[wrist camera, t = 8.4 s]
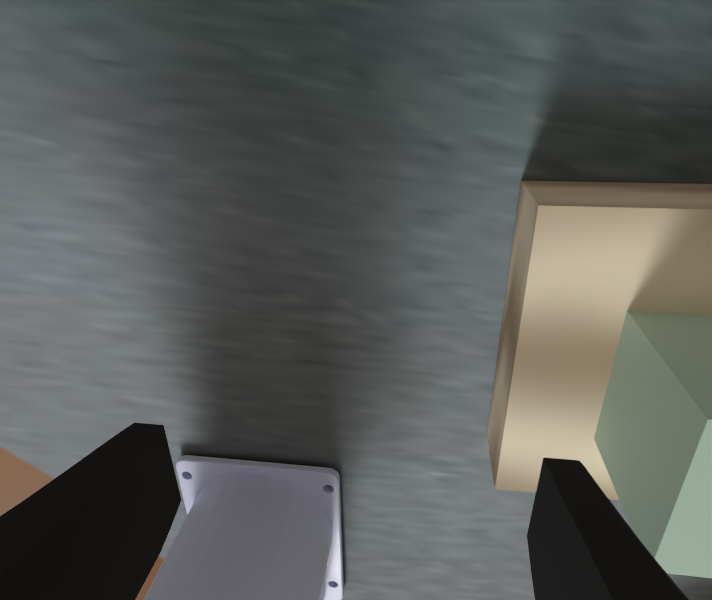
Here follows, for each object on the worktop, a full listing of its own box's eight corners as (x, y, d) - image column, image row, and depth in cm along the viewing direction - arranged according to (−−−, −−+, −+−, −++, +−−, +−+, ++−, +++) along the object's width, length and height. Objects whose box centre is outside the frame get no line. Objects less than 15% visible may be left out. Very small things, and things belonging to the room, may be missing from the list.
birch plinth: (764, 456, 20) (814, 518, 18) (487, 434, 22) (495, 489, 19) (890, 187, 15) (986, 216, 13) (521, 180, 17) (538, 205, 14)
